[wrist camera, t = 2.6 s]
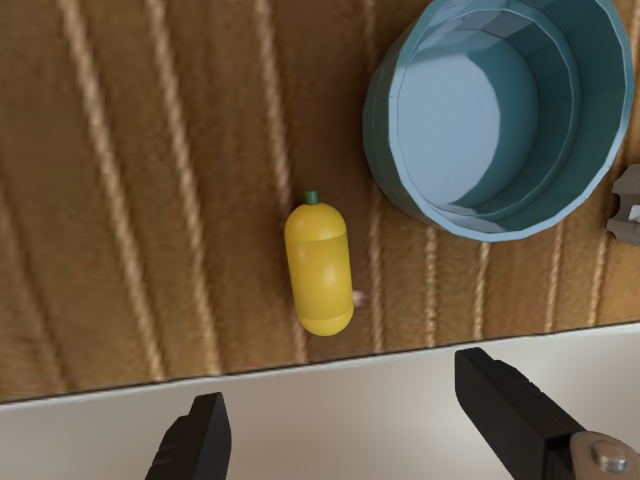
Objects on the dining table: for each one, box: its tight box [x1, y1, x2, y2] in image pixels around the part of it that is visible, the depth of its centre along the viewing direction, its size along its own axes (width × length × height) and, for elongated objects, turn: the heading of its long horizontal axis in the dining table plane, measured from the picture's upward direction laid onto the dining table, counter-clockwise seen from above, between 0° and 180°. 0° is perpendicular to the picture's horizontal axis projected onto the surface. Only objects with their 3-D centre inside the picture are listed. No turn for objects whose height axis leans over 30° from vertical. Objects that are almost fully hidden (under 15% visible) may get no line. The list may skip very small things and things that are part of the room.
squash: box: [284, 190, 354, 336], centre depth 22 cm, size 11×4×4 cm, turn 7°
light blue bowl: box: [362, 0, 635, 242], centre depth 21 cm, size 15×15×6 cm
